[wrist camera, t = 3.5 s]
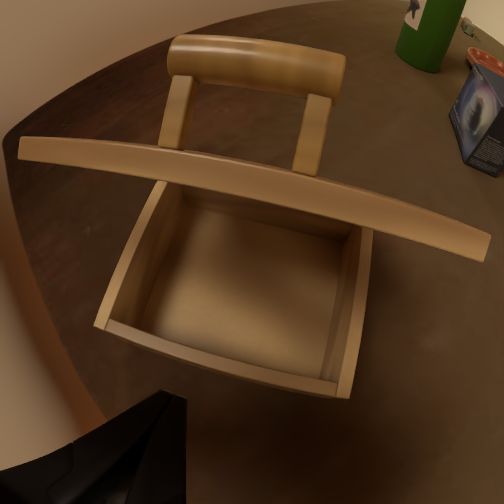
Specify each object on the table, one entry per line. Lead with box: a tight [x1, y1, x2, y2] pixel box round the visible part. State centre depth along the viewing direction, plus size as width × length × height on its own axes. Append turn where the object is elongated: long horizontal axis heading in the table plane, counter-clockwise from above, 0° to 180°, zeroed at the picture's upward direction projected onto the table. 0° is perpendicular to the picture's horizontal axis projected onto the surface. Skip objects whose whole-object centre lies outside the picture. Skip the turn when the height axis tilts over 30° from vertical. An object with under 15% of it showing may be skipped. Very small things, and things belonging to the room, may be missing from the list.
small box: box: [449, 62, 504, 177], centre depth 27 cm, size 11×6×10 cm, turn 167°
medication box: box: [461, 17, 475, 36], centre depth 59 cm, size 12×3×4 cm, turn 154°
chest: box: [94, 180, 373, 399], centre depth 20 cm, size 13×15×6 cm
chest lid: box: [18, 34, 491, 263], centre depth 13 cm, size 13×15×5 cm
